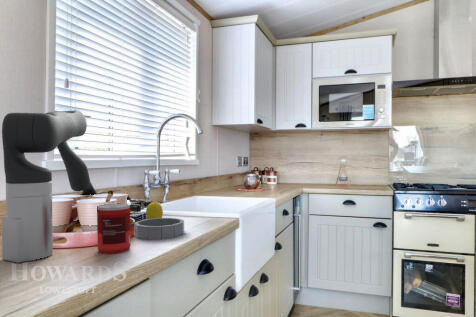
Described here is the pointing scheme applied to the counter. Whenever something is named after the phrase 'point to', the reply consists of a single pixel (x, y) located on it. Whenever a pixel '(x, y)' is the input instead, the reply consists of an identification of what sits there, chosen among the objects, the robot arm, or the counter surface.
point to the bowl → (159, 228)
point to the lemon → (154, 210)
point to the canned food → (113, 228)
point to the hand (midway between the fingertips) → (149, 206)
